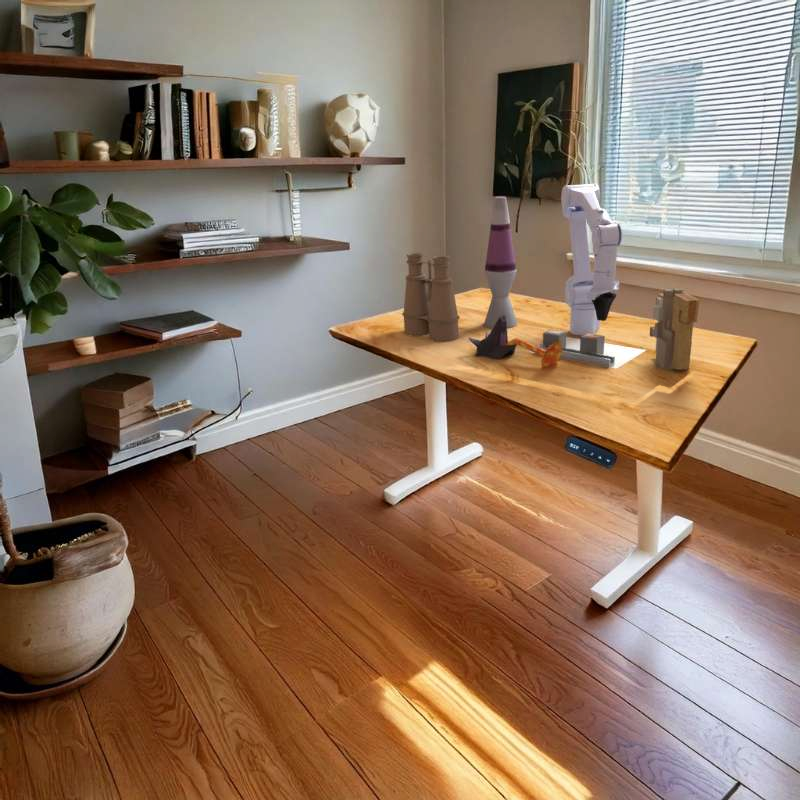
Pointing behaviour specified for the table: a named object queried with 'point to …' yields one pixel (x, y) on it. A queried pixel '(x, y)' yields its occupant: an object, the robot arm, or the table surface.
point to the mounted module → (554, 337)
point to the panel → (609, 351)
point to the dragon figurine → (512, 345)
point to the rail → (584, 356)
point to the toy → (674, 328)
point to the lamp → (500, 265)
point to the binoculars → (430, 300)
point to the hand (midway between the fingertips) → (601, 320)
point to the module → (592, 343)
